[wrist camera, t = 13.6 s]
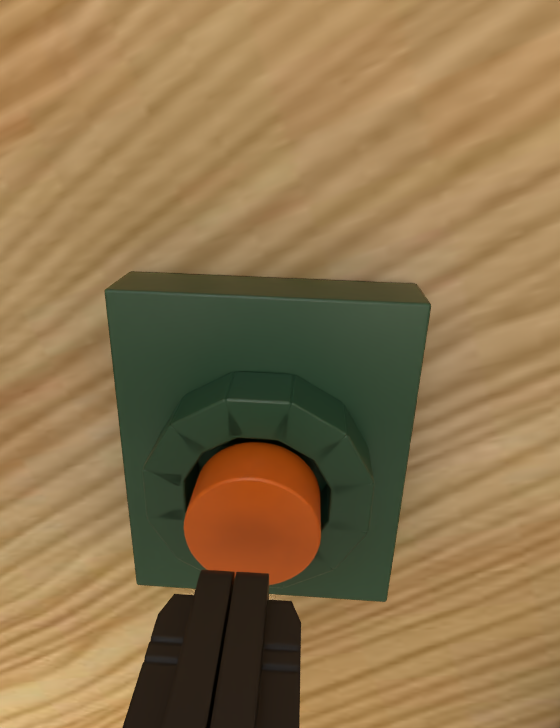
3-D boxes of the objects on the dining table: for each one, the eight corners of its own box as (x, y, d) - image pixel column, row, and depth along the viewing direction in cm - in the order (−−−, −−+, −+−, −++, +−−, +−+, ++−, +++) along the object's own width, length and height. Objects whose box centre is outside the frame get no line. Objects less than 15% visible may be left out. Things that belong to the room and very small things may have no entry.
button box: (128, 270, 16) (76, 309, 13) (417, 283, 16) (448, 326, 12) (153, 542, 21) (119, 629, 17) (379, 557, 20) (393, 649, 17)
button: (194, 436, 14) (179, 474, 13) (324, 444, 14) (325, 482, 13) (198, 538, 16) (185, 582, 14) (316, 545, 16) (317, 591, 14)
